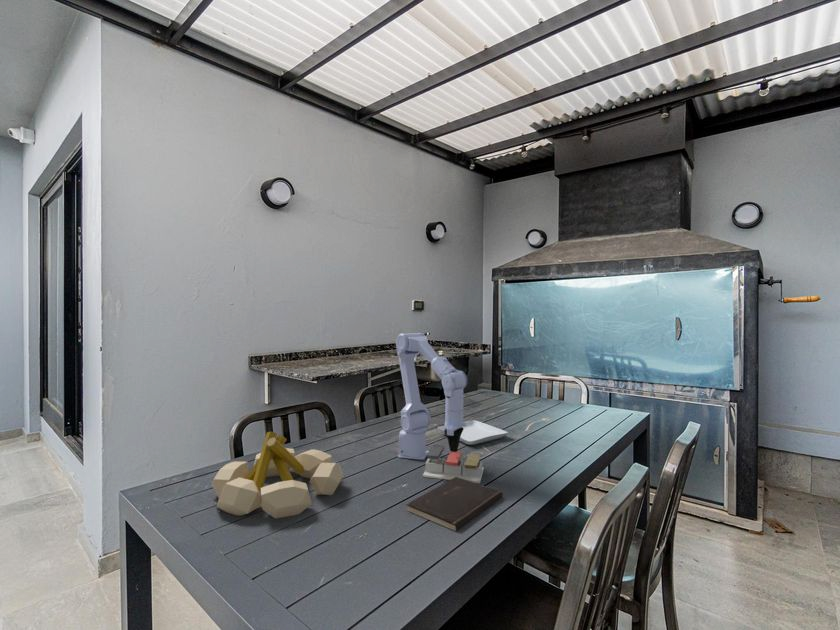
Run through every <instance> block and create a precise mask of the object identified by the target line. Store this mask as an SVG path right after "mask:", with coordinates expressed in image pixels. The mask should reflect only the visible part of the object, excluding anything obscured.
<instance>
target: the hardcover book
mask: <svg viewBox="0 0 840 630" xmlns="http://www.w3.org/2000/svg"><path fill="white" fill-rule="evenodd" d="M503 495H504V494H503V492H502V491H501V490H498V489H494V488H491V487H489V486H485V485H482V484H481V483H474V482H471V481H468V480H465V479H461V478H458V477H455V478H453V479H451V480H448V481H446V482H444V483H442V484H440V485H438V486H437V487H435V488H432V489H431V490H429V491H428V492H425V493H423V494H422V495H420V496H418V497H416V498H415V499H413V500H411V501H409V502H407V503H406V507H407V511H408V512H409V513H412V514H415V515H417V516H420V517H421V518H424V519H426V520H428V521H431V522H433V523H436V524H438V525H441V526H443V527H445V528H447V529H450V530H451V531H455V533H456V532H458V531H459V530H461V529H462V528H464V527H465V526H467V525H468V524H469V523H471V521H473V520H474V519H476V518H478V517H479V515H481V514H483V513H484V512H486V511H487V510H488V509H489V508H491V507H492V506H494V505H495V504H496V503H498V502H499V501H500V500H501V499H503V498H504V497H503Z"/></svg>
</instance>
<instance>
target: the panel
mask: <svg viewBox="0 0 840 630" xmlns="http://www.w3.org/2000/svg"><path fill="white" fill-rule="evenodd" d="M446 460H447V458H443V457H440V463H439V464H437V463H431V459H428V458H427V460H426V461H425V464H424V465H425V467H424V468H425V469H424V473H423V474H422V478H429V479H431V478H432V479H439V480H448V481H449V480H451V479H453V478H455V477H458V478H461V479H465V480H468V481H471V482H474V483H477V484H481V482H482V481H481V480H482V478H483V473H484V469H485V467H483V461H479V462H478V466H477V469H469V468H465V463H466V460H467V459H466V460H464V459H460V460H459V462H458V466H452V465H446Z"/></svg>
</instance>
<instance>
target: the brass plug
mask: <svg viewBox="0 0 840 630" xmlns="http://www.w3.org/2000/svg"><path fill="white" fill-rule="evenodd" d="M480 458H481V454H474V453H468V456H467V458H466V463H465V468H469V469H477V466H478V462H480Z"/></svg>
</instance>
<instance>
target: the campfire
mask: <svg viewBox="0 0 840 630" xmlns="http://www.w3.org/2000/svg"><path fill="white" fill-rule="evenodd" d="M277 435H278V434H277V433H276V432H275V431H267V432H266V435H265V437H264V438H265V439H264V441H263V445H262V449H261V452H260V453H257V454H256V455H255V459H254V462H253V467H252V468H251V469H250V467H249V461H231V462H229V463H226V464H225V465H224V466H222V467H221V468H219V470H218V472H217V473H216V475H215V476H214V478H213V480H212V481H211V483H210V485H211V486H212V488H213V491H214V492H215V494H216V495H217V498H218V500H217V503H216V507H217V508H218V509H220V510H222V511H223V512H225V513H228V514H230V515H234V516H239V517H240V516H244V515H246V514H247V515H248V514H249V513H252V511H255V510H256V509H258V508H260V507H261V508H262V510H263V511H264V512H266V513H267V514H268V515H269V516H271V517H272V518H274V519H280V518H286V517H292V516H296V515H297V516H298V515H300V514H302V513H303V512H304V511H306V509H308V508H309V506H311V505H313V501H312V499H311V495H310V492H309V488H308V485H307V483H306V482H303V481H298V480H294V478H293V476H292V473H291V472H290V469H292V470H293V471H294V472H295V473H296V474H297V475H299V476H300V477H302V478H305V479H310V480H309V484H310V485H311V487H312V488H313V490H314V493H315V495H319V496H321V495H322V496H323V495H324V496H332V495H334V492H335V491H336V490H337V488H338V486H339V485H340V483H341V481H342V480H343V477H344V475H345V473H344V472H343V469H342V467H341V465H340V463H339V462H331V461H332V458H333V455H331V454H329V453H327V452H325V451H322V450H318V449H309V450H306V451H304V452H302V453H299V454H297V455H295V450H294V448H289V447H288V448H287V447H286V446H284V444H285V443H286V441H287V438H286V437H285V436H283V435H281V434H279V435H278V436H277ZM277 476H279V477H280V479H281V481H277V482H275V483H272V484H268V485H265V486H264V484H265V482H266V481H265V480H266V478H273V477H277Z"/></svg>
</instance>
